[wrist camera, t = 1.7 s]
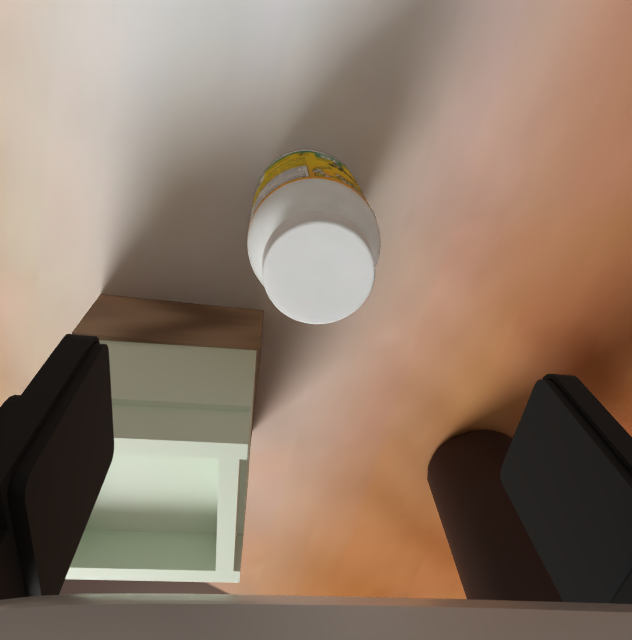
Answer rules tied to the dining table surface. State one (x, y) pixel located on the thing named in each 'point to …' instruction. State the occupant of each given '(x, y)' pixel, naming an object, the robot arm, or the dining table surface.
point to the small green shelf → (173, 466)
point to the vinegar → (485, 522)
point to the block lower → (174, 325)
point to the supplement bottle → (313, 238)
